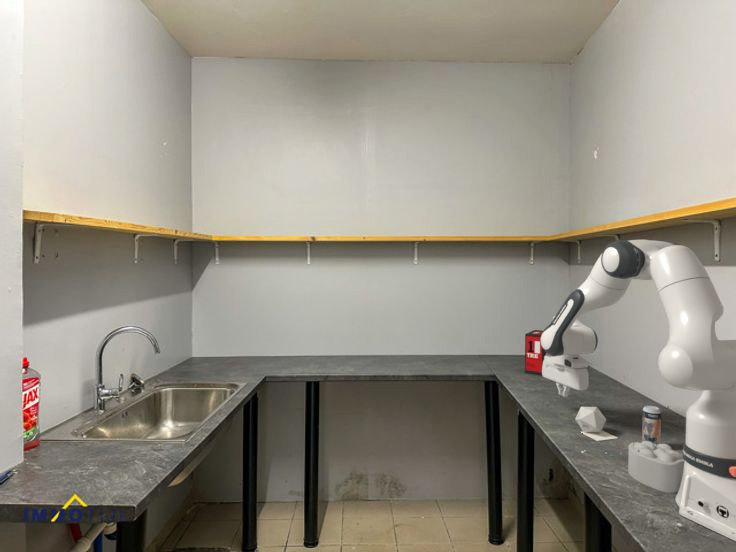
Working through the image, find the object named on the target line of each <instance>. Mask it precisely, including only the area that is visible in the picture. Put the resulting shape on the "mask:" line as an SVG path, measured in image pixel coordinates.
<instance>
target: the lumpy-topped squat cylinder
mask: <svg viewBox="0 0 736 552" xmlns="http://www.w3.org/2000/svg"><path fill="white" fill-rule="evenodd" d="M627 454H628V455H627V456H628V459H627V460H628V461H627V462H628V465H627V468H628V469H627V473H628V474H629V476H630V477H632V479H634V480H635V481H636V482H639V483H641V484H643V485H645V486H647V487H649V488H652V489H654V490H657V491H660V492H664V493H669V494H676V493H678V491H679V488H680V485H681V481H682V476H683V469H684V459H683V453H681V452H678V451H676V450H673V448H672V446H670V445H669V444H667V443H660V444H658V445H657V444H653V443H652V442H649V441H643V442H642V441H641V442H639V441H636V442H631V443H629V444H628V453H627Z"/></svg>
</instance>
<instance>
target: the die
mask: <svg viewBox="0 0 736 552" xmlns="http://www.w3.org/2000/svg"><path fill="white" fill-rule="evenodd" d="M575 421H576V422H577V424H578V426H579V428H581V430H582V431H584V432H586V433H601V431H603V428H604V427H605V424H606V422H607V419H606V417H605V416H604V414H603V413H602V412H601V410H600V409H599V407H597V406H580V408H579V410H578V412H577V414H576V417H575Z"/></svg>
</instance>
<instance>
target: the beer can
mask: <svg viewBox="0 0 736 552" xmlns="http://www.w3.org/2000/svg"><path fill="white" fill-rule="evenodd" d="M661 426H662V411H661V410H660V408H659V407H657V406H654V405H644V407H643V408H642V429H641V430H642V434H641V435H642V438H641V439H642V441H641V442H643V441H649V442H652V443H653V444H657V445H658V444H661V433H662V432H661V431H662V429H661Z"/></svg>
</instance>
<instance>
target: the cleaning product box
mask: <svg viewBox="0 0 736 552" xmlns="http://www.w3.org/2000/svg"><path fill="white" fill-rule="evenodd" d="M543 331H544V330H540V329H539V330H538V329H534V330H532V331H529V332H527V333H525V335H524V336H525V337H524V342H525V343H524V373H525V374H528V375H535V376H541V377H543V375H542V366H543V361H544V356H545V355H546V354H547V353H546V352H545V351H544V349H543V348H542V347H541V343H540V337H541V334H542V332H543Z"/></svg>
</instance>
